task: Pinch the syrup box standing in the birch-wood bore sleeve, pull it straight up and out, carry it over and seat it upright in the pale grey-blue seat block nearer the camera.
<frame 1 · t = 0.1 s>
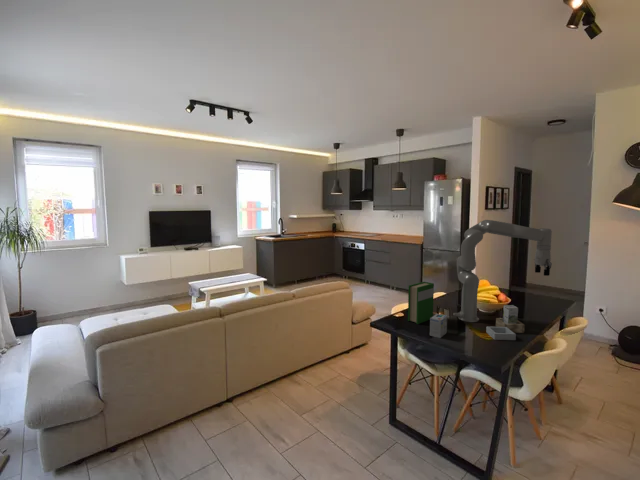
hand: (542, 273, 216), 31 cm above the table, fingers open, 9 cm apart
seat block: (500, 336, 194), on the table
light bulb box: (438, 334, 197), on the table
syrup box: (509, 329, 204), resting in bore sleeve
bore sleeve: (509, 329, 204), on the table
hardback book: (420, 320, 222), on the table
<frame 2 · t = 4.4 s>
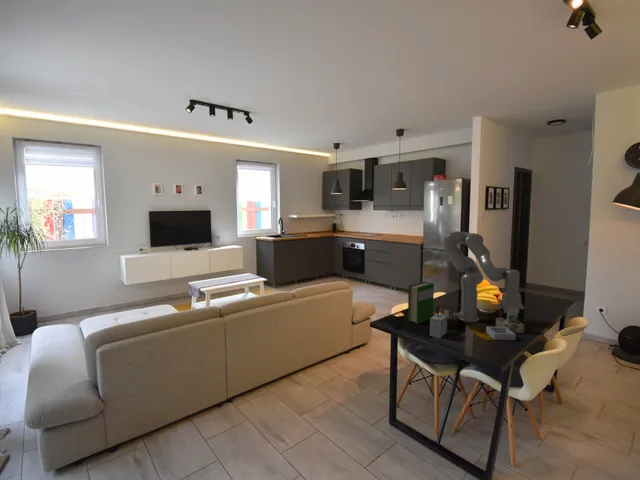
hand: (510, 318, 204), 7 cm above the table, fingers closed on syrup box, 6 cm apart
syrup box: (509, 329, 204), resting in bore sleeve, touching gripper
everything else where it was.
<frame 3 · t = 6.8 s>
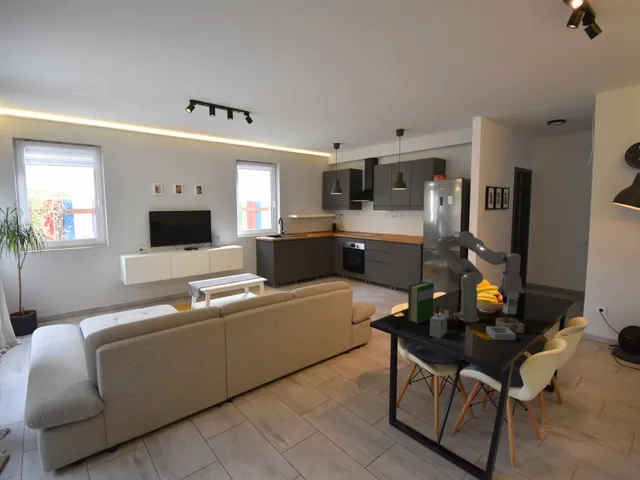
hand: (510, 302, 203), 17 cm above the table, fingers closed on syrup box, 6 cm apart
syrup box: (509, 313, 204), point 10 cm above the table, touching gripper
everything else where it was.
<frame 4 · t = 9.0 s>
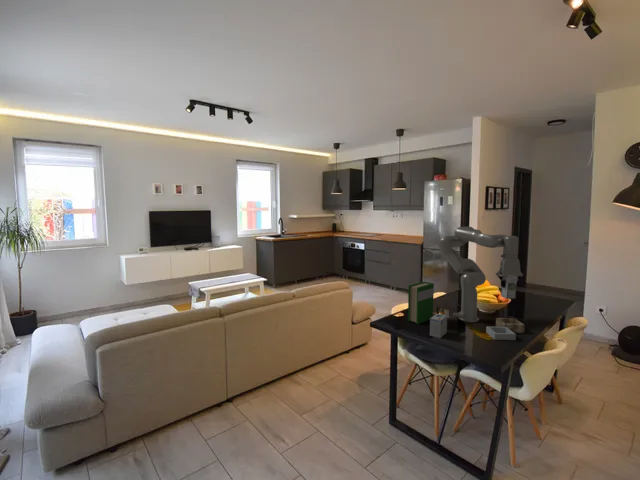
hand: (508, 286, 198), 28 cm above the table, fingers closed on syrup box, 6 cm apart
syrup box: (508, 297, 198), point 21 cm above the table, touching gripper
everything else where it was.
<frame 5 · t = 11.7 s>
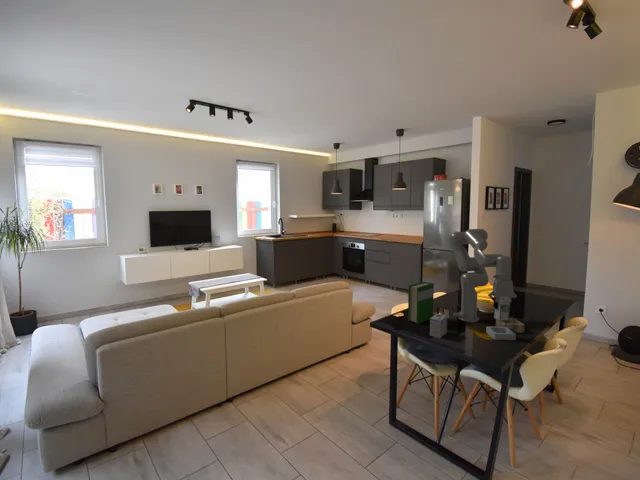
hand: (501, 308, 192), 17 cm above the table, fingers closed on syrup box, 6 cm apart
syrup box: (501, 319, 192), point 10 cm above the table, touching gripper
everything else where it was.
when the fingers open (8 cm above the table, at t = 13.7 s): syrup box drops 2 cm, resting in seat block.
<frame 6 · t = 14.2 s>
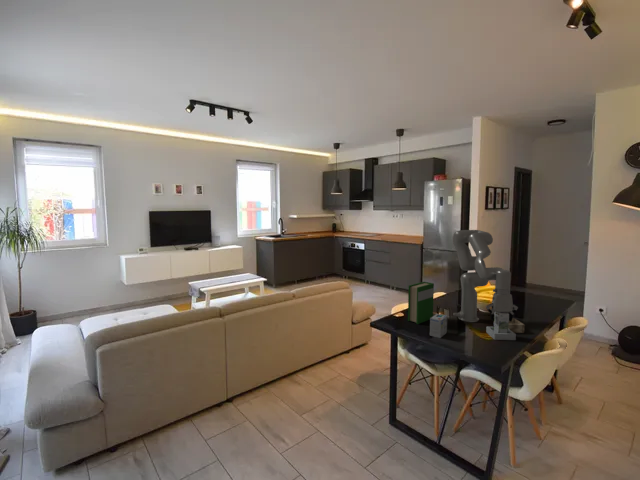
hand: (501, 320, 193), 9 cm above the table, fingers open, 9 cm apart
syrup box: (500, 336, 194), resting in seat block
everything else where it was.
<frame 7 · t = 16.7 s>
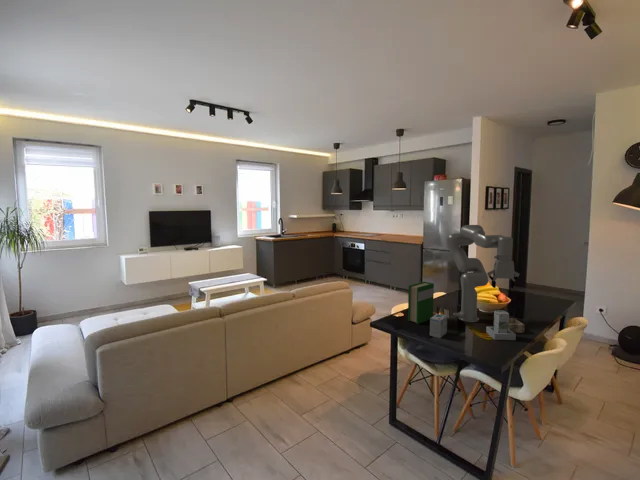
hand: (502, 287, 192), 28 cm above the table, fingers open, 9 cm apart
nothing on the table moved.
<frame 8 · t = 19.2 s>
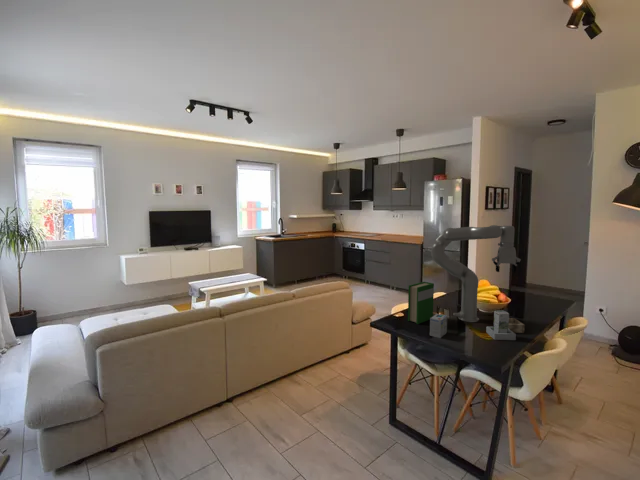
hand: (505, 271, 213), 33 cm above the table, fingers open, 9 cm apart
nothing on the table moved.
at the end: syrup box 0.1 cm off-centre on the seat block, point 0.0 cm above the seat block's base; syrup box tilted 0°; the gripper is holding nothing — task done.
